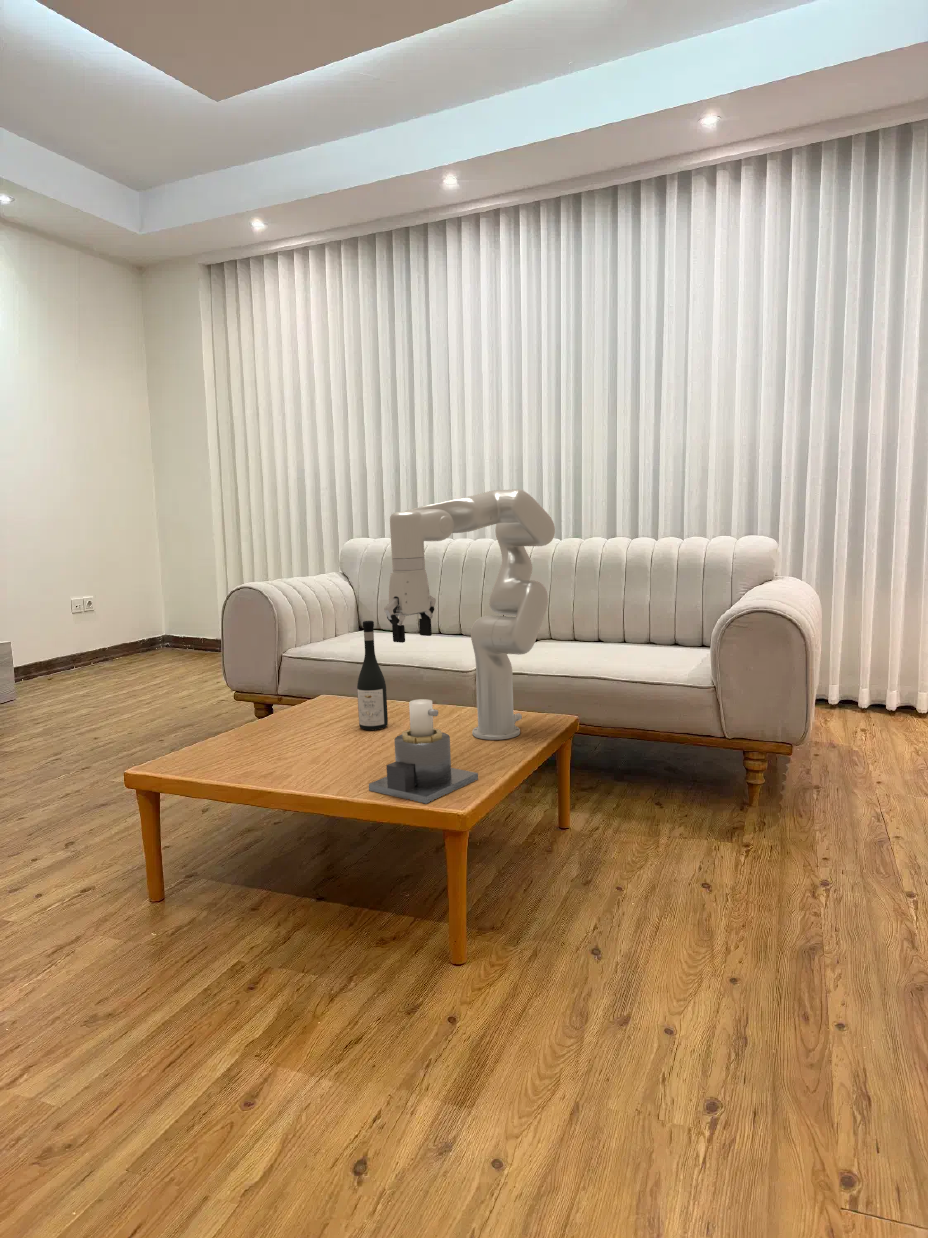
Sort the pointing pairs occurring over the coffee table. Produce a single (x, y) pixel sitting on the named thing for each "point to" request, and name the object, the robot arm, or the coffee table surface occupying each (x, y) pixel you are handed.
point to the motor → (422, 769)
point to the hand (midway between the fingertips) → (412, 638)
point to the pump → (421, 717)
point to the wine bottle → (371, 687)
